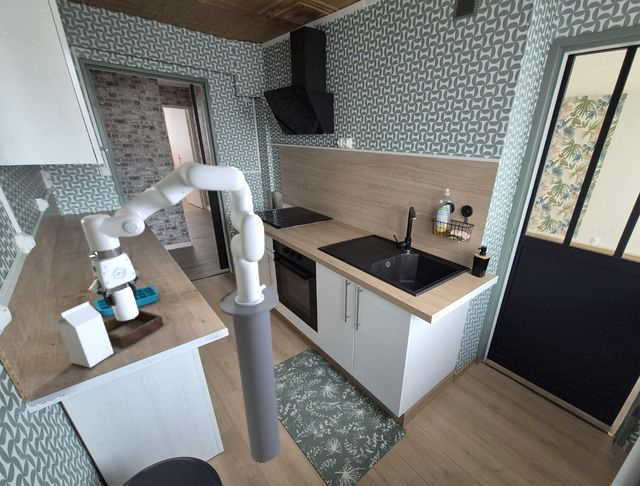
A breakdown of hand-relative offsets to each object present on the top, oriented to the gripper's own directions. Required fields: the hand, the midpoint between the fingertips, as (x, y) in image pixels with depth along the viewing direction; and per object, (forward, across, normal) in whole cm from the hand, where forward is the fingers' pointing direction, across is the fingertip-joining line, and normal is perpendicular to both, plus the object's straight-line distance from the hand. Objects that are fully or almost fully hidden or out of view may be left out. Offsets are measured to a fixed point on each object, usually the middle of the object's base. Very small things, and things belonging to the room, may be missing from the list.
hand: (122, 299), depth 102 cm
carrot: (+13, +21, +44) cm, 51 cm away
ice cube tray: (+13, +12, +19) cm, 27 cm away
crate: (+13, -1, 0) cm, 13 cm away
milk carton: (+13, -15, -4) cm, 20 cm away
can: (+7, 0, 0) cm, 7 cm away
